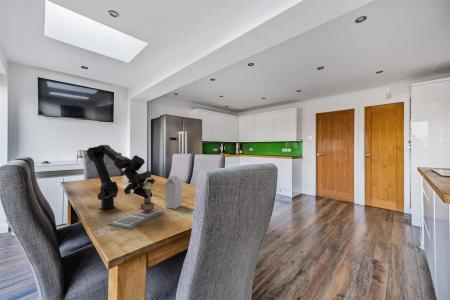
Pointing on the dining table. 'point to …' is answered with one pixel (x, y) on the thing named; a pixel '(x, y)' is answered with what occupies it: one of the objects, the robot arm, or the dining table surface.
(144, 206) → the walnut stamp
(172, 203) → the milk carton
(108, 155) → the robot arm
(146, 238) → the dining table surface
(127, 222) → the stamping board
